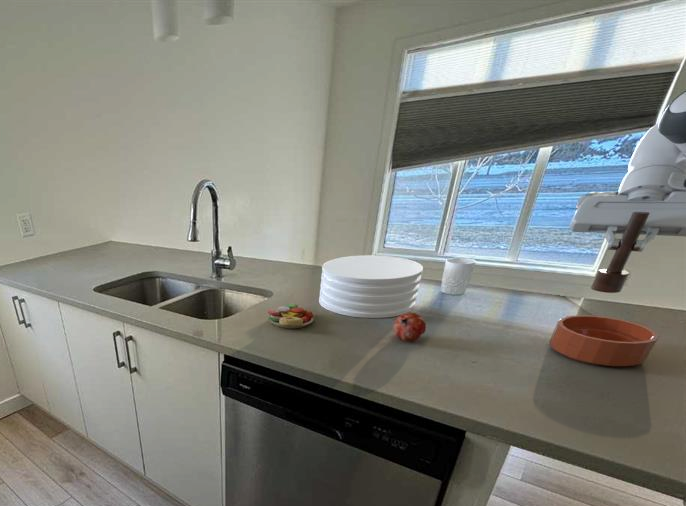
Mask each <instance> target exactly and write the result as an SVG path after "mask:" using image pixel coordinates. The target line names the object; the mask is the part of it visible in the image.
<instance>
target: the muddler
mask: <svg viewBox="0 0 686 506" xmlns="http://www.w3.org/2000/svg"><path fill="white" fill-rule="evenodd" d="M649 214H650V213H649V212H633V213H632V216H631V218H630V220H629V222H628V224H627V227H626V229H625V231H624V233H623V234H621V238H620V239H621V240H620V243H619V245H618V248H617V249H616V250H614V253H613V255H612V257H611V260H610V262H609V264H608V266H607V268H601V269H598V271H597V273H596V275H595V277H594V280H593V281H592V285H591V287H590V289H591V290H592V291H595V292H600V293H607V294H614V293H615V294H617V293H621V292H622V290H623V288H624V286H625V284H626V282H627V279H628V277H629V276H630V272H629V271H627V270H625V266H626V264H627V262H628V260H629V258H630V255H631V254H632V252H633V251H632V249H633V248H634V245H635V243H636V241H637V240H639V237H640V236H641V235H640V233H641V231H642V229H643V226H644V224H645V222H646V220H647V218H648V216H649Z"/></svg>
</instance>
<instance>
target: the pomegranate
mask: <svg viewBox="0 0 686 506" xmlns="http://www.w3.org/2000/svg"><path fill="white" fill-rule="evenodd" d="M421 315H422V314H419V313H417V312H412V311H410V312H408V313H405V314H402V315H399V316H397V318H396V320H395V322H394V323H393V326H392V327H393V334H394V335H395V337H396V338H397V339H399V340H402V341H404V342H408V343H412V342H414V341H417V340H419V339H420V338H421V336H422V335H423V334H424V333H426V331H427V322H426V321H425V319H424V318H423V317H422V316H421Z"/></svg>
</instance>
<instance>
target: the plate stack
mask: <svg viewBox="0 0 686 506" xmlns="http://www.w3.org/2000/svg"><path fill="white" fill-rule="evenodd" d="M423 271H424V267H423V265H422V264H421V263H419V262H418V261H417V262H416V261H414V260H411V259H409V258H404V257H398V256H390V255H376V254H375V255H372V254H369V255H367V254H365V255H364V254H363V255H349V256H343V257H336V258H332V259H330V260H327V261H326V262H324V263H323V264H322V266H321V275H320V276H321V281H320V289H319V298H318V303H319V305H320V306H321V307H322V308H323V309H325V310H327V311H329V312H332V313H333V314H337V315H343V316H347V317H352V318H363V319H382V318H383V319H384V318H392V317H399V316H402V315H404V314H406V313H409V312H412V311H413V310H414V309H415V306H416V300H417V297H418V292H419V289H420V284H421V280H422V274H423Z"/></svg>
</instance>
